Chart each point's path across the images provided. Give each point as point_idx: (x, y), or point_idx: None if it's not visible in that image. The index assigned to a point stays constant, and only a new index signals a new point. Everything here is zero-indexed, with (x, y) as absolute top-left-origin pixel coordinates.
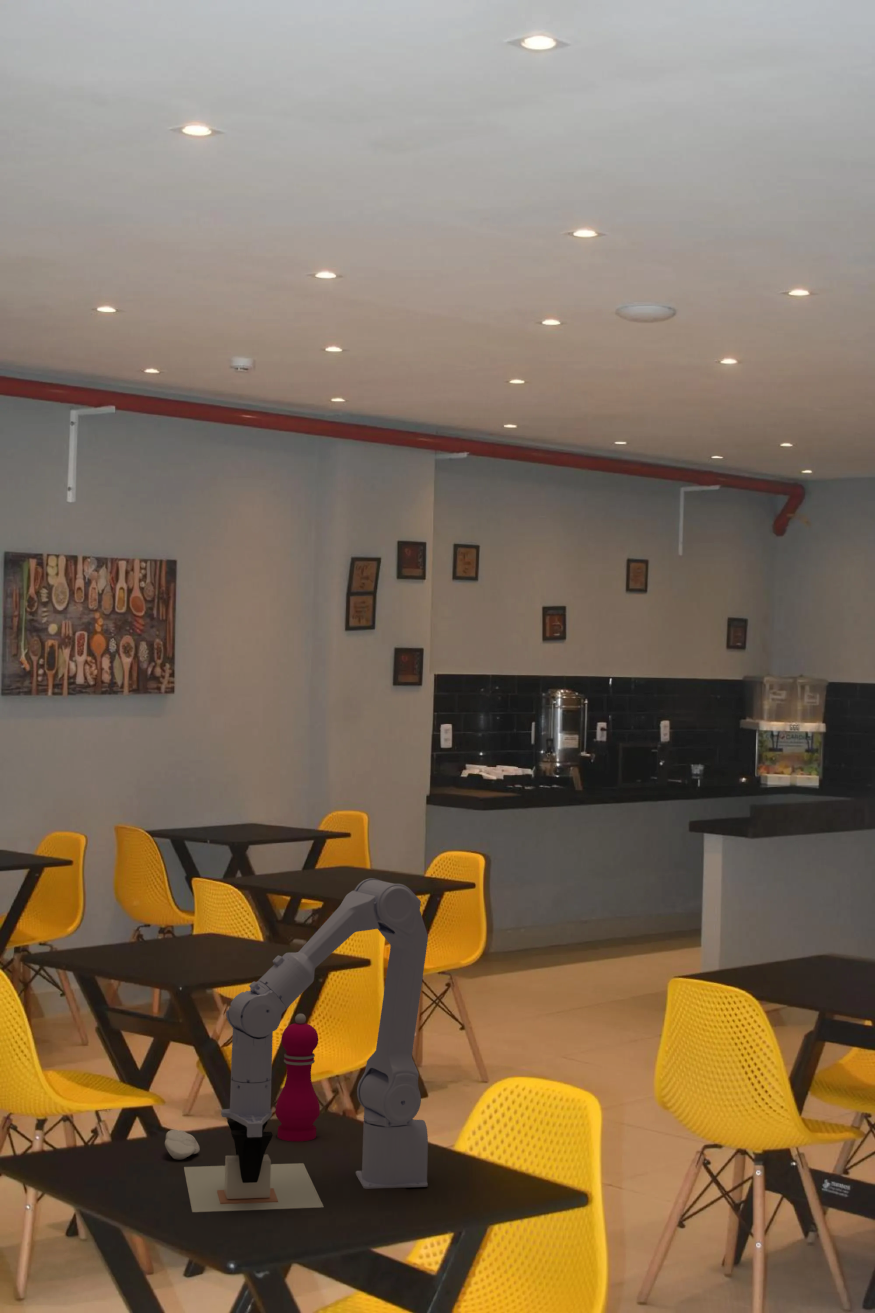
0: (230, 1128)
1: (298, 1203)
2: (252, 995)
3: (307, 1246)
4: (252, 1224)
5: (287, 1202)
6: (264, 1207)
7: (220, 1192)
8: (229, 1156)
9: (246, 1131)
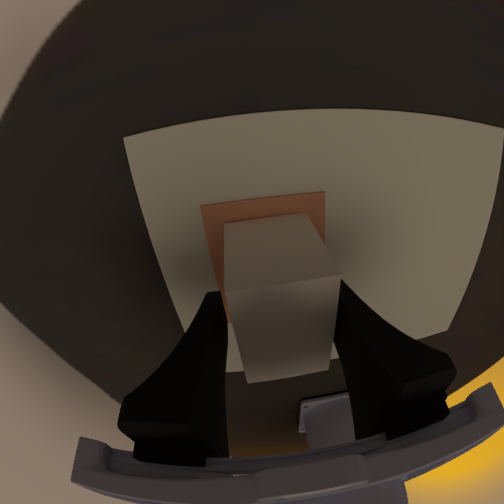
0: (387, 371)
1: None
2: None
3: (41, 337)
4: (91, 276)
5: None
6: (184, 300)
7: (301, 202)
8: (324, 289)
9: (153, 452)
